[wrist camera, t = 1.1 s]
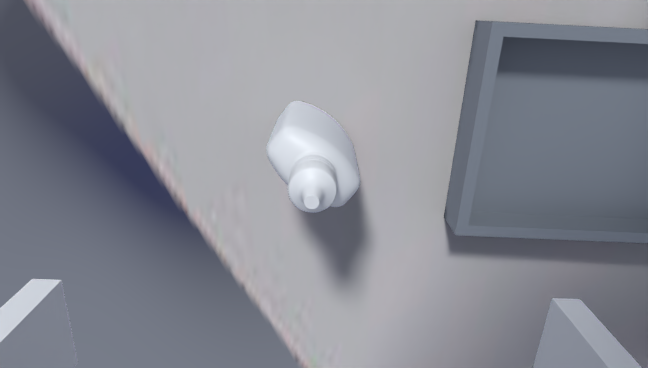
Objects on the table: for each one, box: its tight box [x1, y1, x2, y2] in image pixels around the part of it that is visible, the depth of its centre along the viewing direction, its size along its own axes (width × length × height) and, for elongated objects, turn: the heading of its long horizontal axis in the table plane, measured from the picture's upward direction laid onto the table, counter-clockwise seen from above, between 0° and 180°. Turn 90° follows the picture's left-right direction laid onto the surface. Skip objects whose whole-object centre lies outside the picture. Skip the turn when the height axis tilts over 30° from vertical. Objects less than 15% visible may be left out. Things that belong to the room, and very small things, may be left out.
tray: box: [444, 21, 648, 243], centre depth 30 cm, size 14×20×3 cm
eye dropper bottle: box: [266, 101, 360, 213], centre depth 26 cm, size 4×6×12 cm
